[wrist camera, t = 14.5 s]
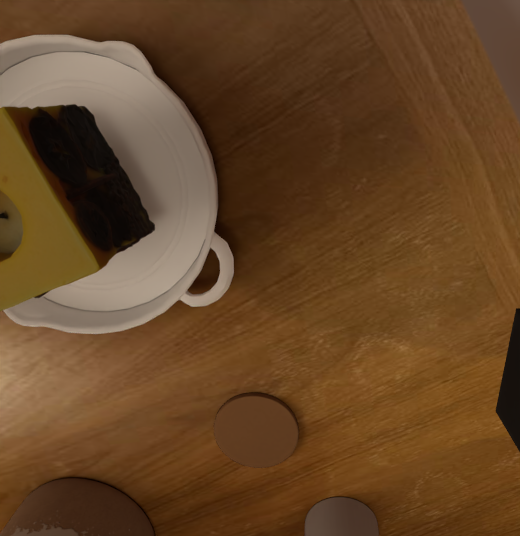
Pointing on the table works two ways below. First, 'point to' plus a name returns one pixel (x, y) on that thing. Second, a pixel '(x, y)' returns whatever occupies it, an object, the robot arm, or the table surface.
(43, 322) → the pan
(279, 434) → the coaster
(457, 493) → the table surface
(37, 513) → the vase
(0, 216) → the candle
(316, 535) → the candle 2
